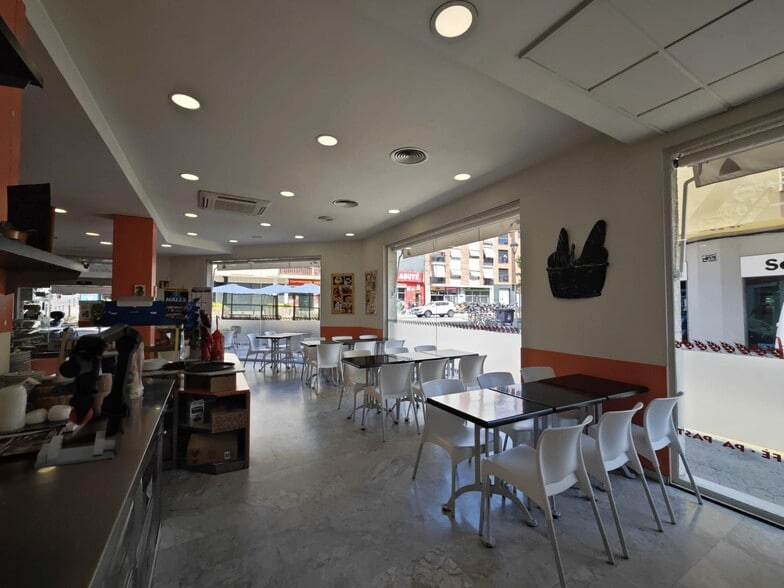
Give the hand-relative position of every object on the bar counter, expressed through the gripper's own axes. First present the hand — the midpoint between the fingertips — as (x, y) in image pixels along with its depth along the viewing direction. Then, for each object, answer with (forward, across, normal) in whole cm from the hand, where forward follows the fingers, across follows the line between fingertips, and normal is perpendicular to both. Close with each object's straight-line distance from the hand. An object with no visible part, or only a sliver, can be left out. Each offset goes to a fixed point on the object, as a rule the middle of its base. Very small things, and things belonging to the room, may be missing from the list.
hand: (80, 420), depth 116 cm
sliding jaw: (+10, 0, +8) cm, 13 cm away
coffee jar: (+12, -48, +11) cm, 51 cm away
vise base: (+12, 0, +1) cm, 12 cm away
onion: (+2, 0, 0) cm, 2 cm away
